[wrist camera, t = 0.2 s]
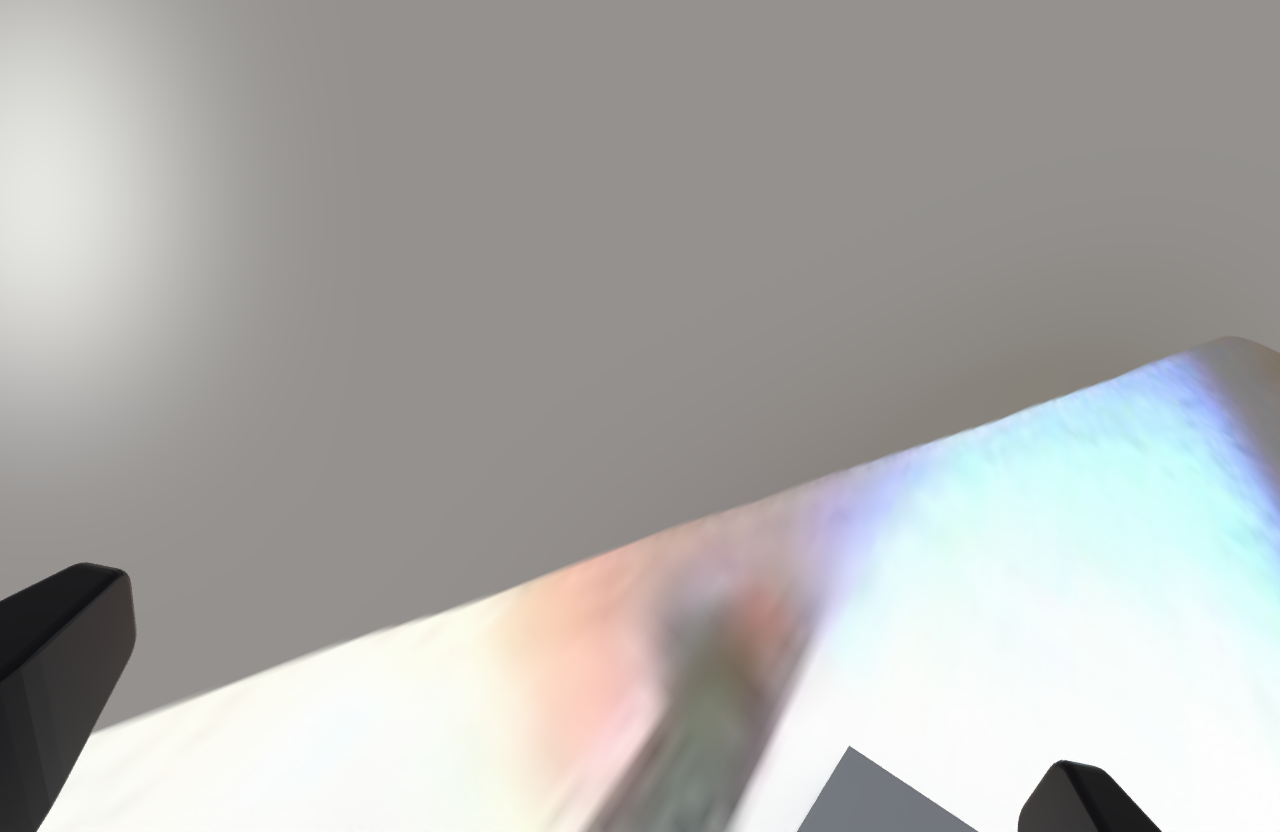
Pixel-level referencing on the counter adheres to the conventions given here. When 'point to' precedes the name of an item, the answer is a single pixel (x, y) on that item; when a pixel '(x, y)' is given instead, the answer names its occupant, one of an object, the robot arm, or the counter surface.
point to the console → (874, 803)
